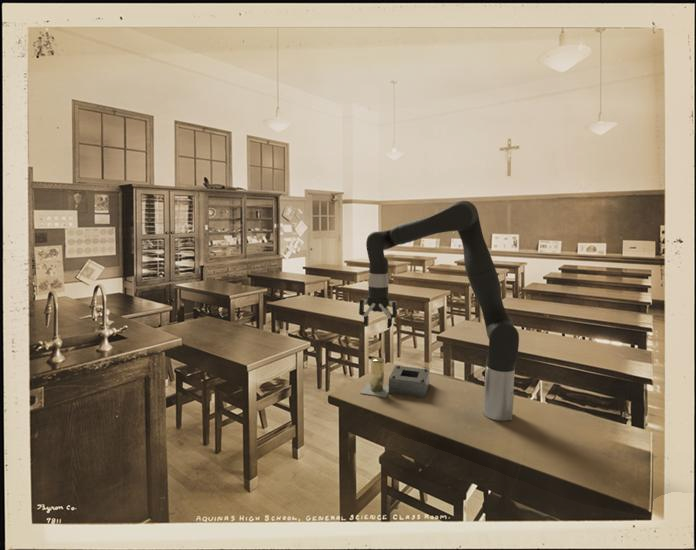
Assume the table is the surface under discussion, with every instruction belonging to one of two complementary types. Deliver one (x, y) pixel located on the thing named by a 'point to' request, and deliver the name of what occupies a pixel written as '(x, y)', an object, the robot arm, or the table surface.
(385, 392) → the rubber mat
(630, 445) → the table surface
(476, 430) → the table surface
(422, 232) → the robot arm
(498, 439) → the table surface
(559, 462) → the table surface
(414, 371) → the grey square socket block
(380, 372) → the brass cylindrical shaft
